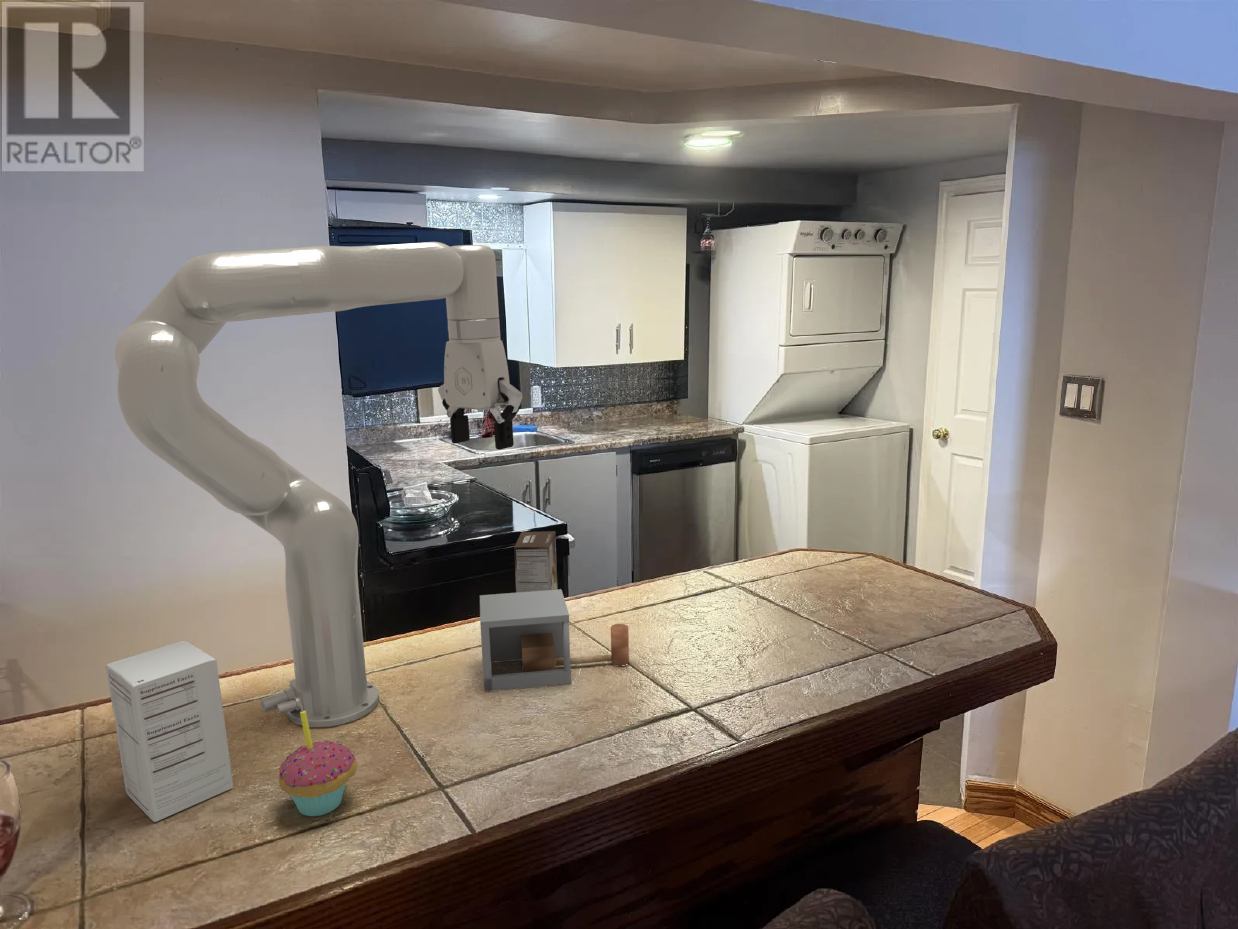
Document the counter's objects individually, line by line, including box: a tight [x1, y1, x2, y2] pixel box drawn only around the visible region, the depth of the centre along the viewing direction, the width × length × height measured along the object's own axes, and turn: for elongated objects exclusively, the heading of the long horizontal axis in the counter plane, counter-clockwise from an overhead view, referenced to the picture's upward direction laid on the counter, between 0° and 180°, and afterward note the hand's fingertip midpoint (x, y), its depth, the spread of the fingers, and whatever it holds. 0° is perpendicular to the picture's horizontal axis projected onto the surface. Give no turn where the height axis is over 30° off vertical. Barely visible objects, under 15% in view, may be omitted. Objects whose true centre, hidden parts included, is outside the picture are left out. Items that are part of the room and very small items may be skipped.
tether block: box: [520, 623, 630, 673], centre depth 130 cm, size 17×5×6 cm, turn 100°
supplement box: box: [105, 640, 234, 823], centre depth 98 cm, size 10×9×17 cm
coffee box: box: [513, 530, 558, 593], centre depth 146 cm, size 9×6×16 cm
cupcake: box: [278, 705, 358, 817], centre depth 96 cm, size 9×8×12 cm
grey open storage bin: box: [479, 588, 572, 692], centre depth 129 cm, size 13×11×11 cm
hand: (482, 444), depth 127 cm, fingers open, 9 cm apart
